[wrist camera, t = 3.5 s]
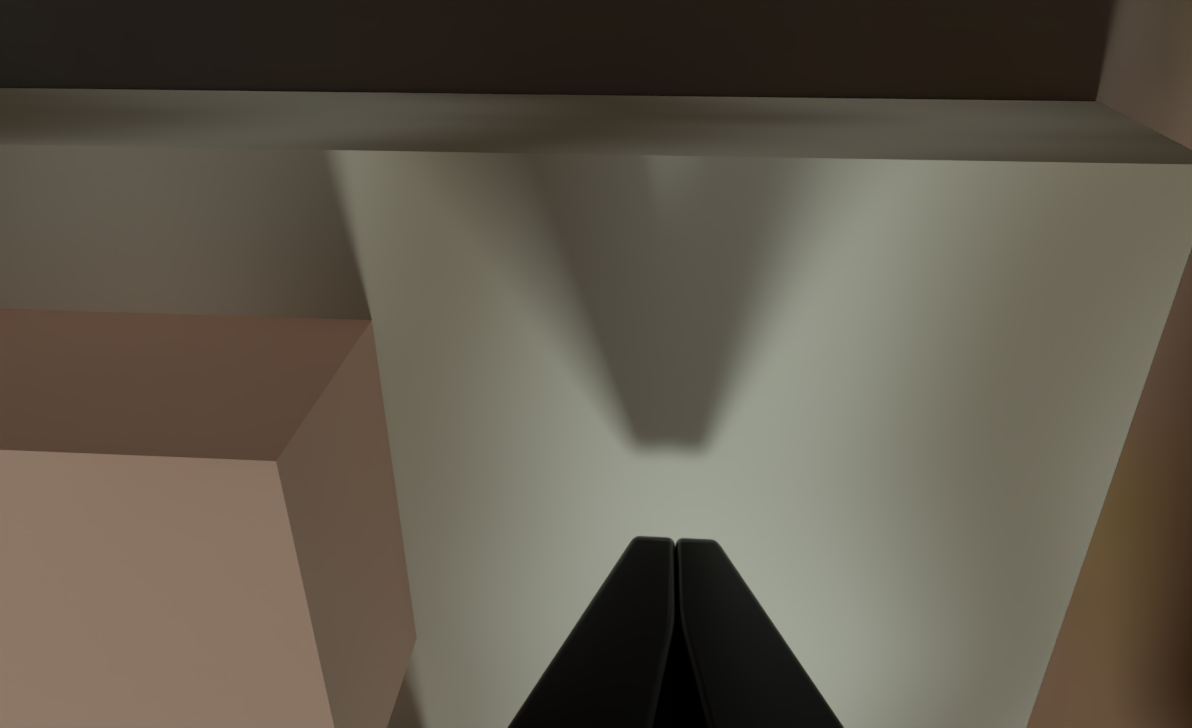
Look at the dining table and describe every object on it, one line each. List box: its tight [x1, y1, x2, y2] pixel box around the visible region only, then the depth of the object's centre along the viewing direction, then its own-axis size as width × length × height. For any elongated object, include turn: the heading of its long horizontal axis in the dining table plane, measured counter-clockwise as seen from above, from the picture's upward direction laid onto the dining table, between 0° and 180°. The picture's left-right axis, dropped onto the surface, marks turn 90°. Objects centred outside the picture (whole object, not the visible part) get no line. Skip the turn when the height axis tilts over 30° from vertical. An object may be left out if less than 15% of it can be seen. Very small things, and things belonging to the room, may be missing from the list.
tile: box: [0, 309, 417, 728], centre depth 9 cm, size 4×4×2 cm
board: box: [0, 88, 1192, 728], centre depth 13 cm, size 14×15×2 cm
